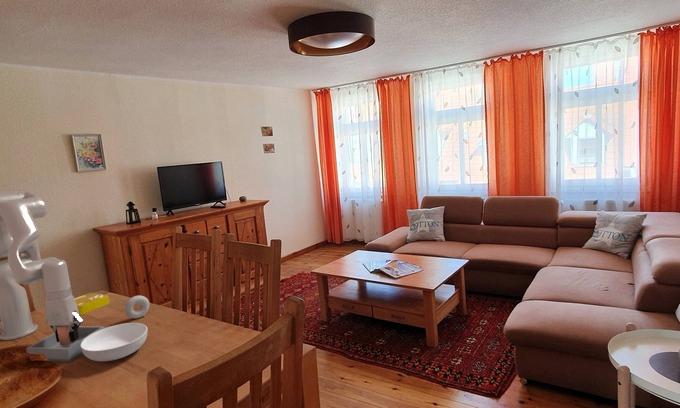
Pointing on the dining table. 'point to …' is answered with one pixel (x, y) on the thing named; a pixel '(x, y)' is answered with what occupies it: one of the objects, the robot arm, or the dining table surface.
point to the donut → (139, 313)
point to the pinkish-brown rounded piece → (64, 335)
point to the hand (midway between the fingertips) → (67, 339)
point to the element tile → (91, 302)
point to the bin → (62, 353)
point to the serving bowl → (114, 342)
